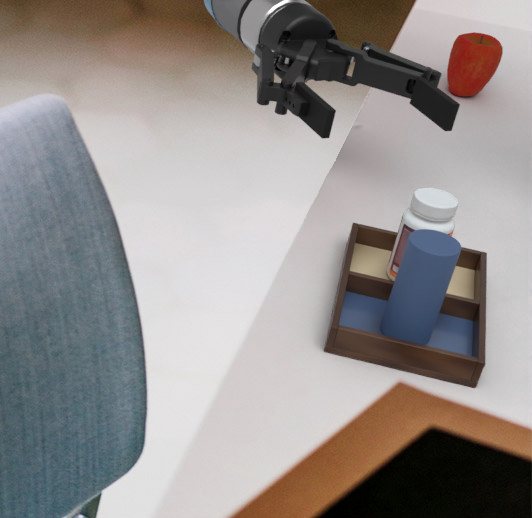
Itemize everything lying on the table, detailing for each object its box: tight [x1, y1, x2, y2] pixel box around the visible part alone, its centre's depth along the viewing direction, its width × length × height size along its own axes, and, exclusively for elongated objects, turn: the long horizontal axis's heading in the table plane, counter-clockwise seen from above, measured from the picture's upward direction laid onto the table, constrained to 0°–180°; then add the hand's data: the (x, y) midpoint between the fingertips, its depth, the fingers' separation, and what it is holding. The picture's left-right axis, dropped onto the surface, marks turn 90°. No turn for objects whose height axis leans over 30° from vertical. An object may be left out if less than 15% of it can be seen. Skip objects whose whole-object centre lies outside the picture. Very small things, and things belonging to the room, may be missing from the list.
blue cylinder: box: [381, 229, 462, 345], centre depth 102 cm, size 4×4×9 cm
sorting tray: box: [323, 222, 488, 389], centre depth 108 cm, size 13×20×3 cm, turn 164°
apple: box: [446, 32, 504, 97], centre depth 150 cm, size 6×6×8 cm
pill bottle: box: [387, 187, 459, 281], centre depth 110 cm, size 5×5×8 cm
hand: (392, 121), depth 112 cm, fingers open, 13 cm apart
